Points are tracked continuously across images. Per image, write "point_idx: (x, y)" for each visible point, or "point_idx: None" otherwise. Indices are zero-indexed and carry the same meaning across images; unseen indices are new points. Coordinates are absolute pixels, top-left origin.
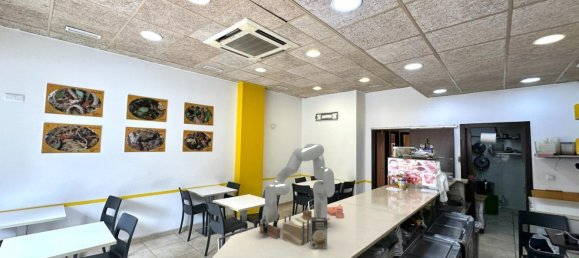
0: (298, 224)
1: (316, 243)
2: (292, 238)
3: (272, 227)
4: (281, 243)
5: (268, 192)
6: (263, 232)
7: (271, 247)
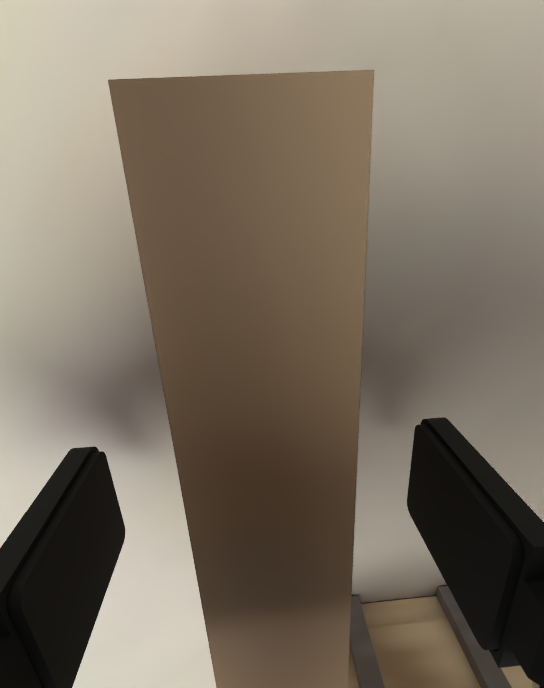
0: None
1: None
2: None
3: (248, 669)
4: (197, 668)
5: None
6: (77, 453)
7: None
